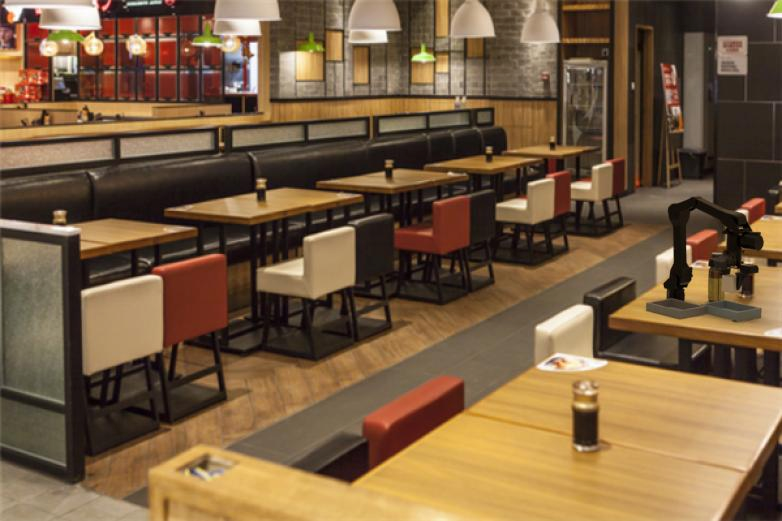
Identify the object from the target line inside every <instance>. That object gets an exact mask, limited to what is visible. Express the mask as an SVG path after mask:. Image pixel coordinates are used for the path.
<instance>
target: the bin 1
mask: <svg viewBox="0 0 782 521" xmlns="http://www.w3.org/2000/svg"><path fill="white" fill-rule="evenodd" d="M645 311H646V312H650V313H655V314H658V315H662V316H664V317H670V318H674V319H678V320H683V319H688V318H689V319H690V318H694V317H699V316H704V315H706V306H702V305H701V304H697V303H693V302H689V301H681V300H677V299H672V298H670V299H665V298H664V299H660V300H653V301H649V302H648V301H647V302H646V303H645Z"/></svg>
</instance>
